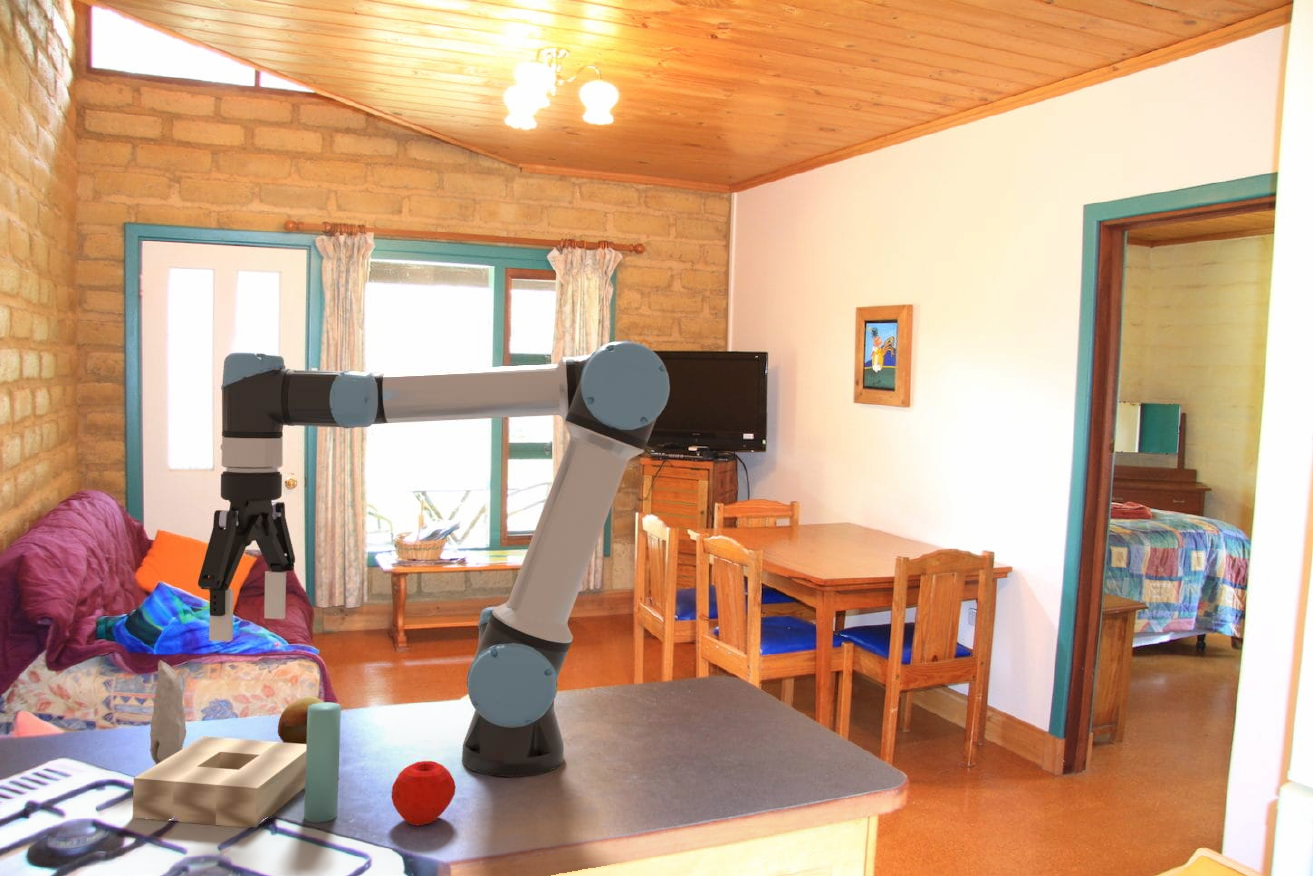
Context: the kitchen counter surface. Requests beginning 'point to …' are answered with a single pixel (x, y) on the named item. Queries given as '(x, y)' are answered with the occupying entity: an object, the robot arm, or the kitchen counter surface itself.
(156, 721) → the stone tool
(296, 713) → the fruit
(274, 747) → the socket block
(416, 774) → the apple
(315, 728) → the peg
